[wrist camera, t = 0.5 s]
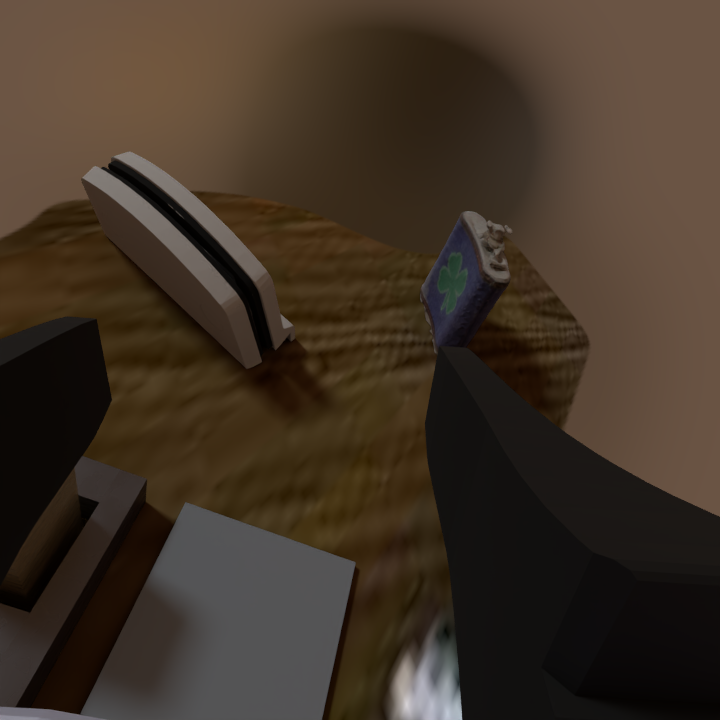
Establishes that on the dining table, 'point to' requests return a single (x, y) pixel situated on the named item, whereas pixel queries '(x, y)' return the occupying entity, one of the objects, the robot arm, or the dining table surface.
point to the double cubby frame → (68, 581)
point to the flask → (465, 280)
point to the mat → (227, 628)
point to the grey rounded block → (189, 255)
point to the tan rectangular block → (44, 548)
